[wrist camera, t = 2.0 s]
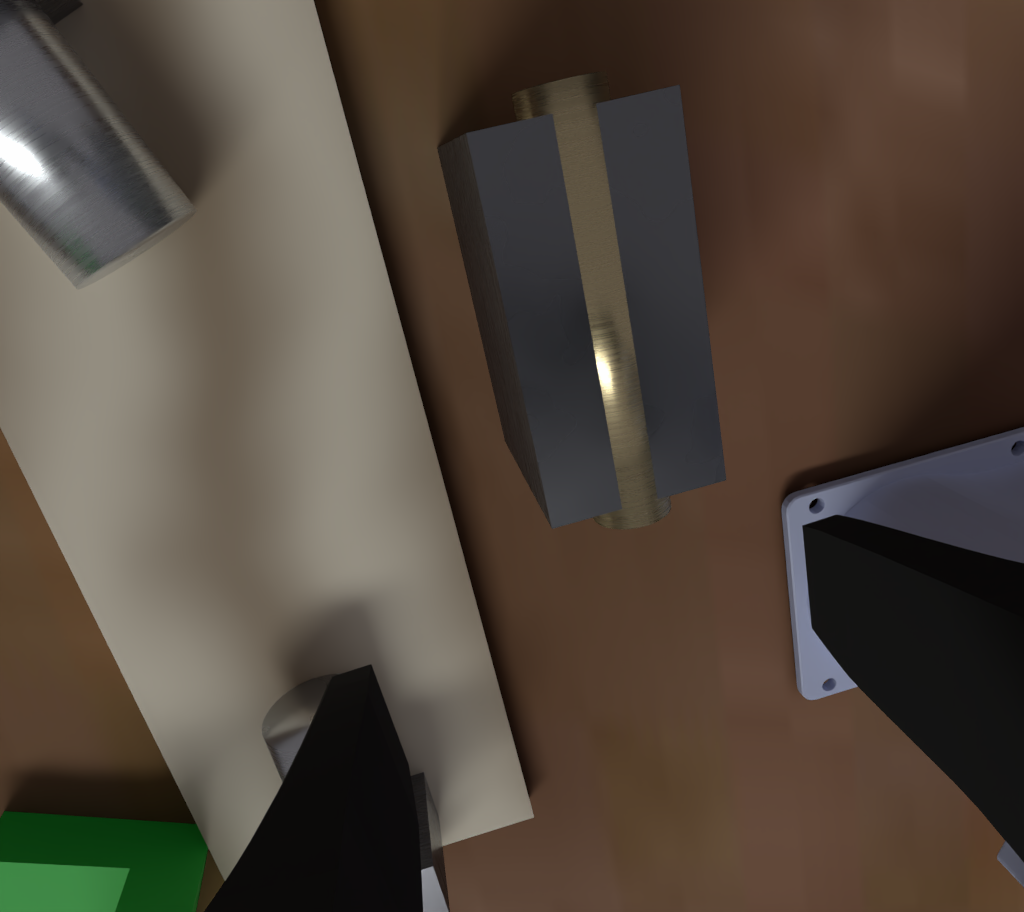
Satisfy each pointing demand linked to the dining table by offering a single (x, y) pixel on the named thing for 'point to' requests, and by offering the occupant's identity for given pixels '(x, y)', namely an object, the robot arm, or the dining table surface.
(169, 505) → the board
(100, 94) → the angled shaft
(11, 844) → the mechanical part
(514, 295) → the grey slotted block
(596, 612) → the dining table surface
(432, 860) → the metal cylinder fitting
